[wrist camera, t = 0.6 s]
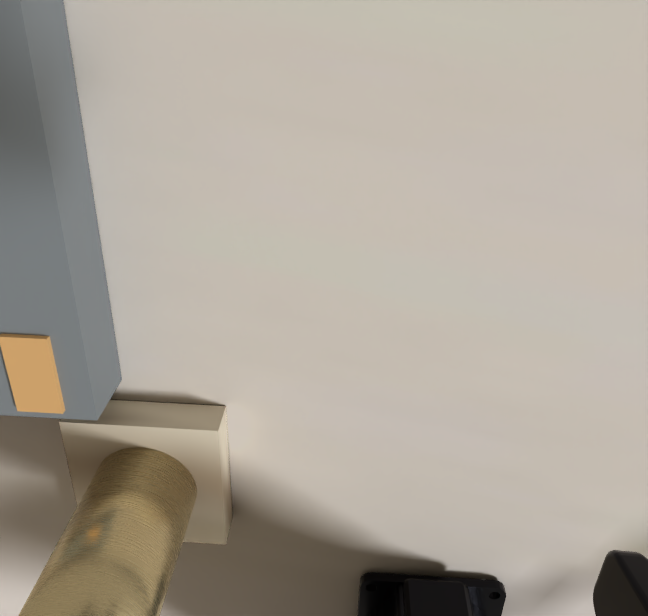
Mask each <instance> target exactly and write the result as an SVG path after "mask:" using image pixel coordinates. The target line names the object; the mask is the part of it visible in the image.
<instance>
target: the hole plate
mask: <svg viewBox="0 0 648 616" xmlns="http://www.w3.org/2000/svg"><path fill="white" fill-rule="evenodd" d="M121 380H122V378H121V371H120V365H119V358H118V352H117V345H116V339H115V332H114V326H113V319H112V313H111V306H110V300H109V294H108V287H107V281H106V274H105V268H104V261H103V255H102V248H101V242H100V235H99V229H98V222H97V216H96V210H95V203H94V197H93V190H92V184H91V177H90V171H89V164H88V158H87V151H86V145H85V139H84V132H83V126H82V119H81V113H80V106H79V100H78V93H77V87H76V80H75V74H74V67H73V61H72V55H71V48H70V42H69V35H68V29H67V22H66V16H65V9H64V3H63V0H0V415H7V416H25V417H43V418H61V419H79V420H98V419H99V417H100V415H101V414H102V412H103V410H104V409H105V407H106V405H107V404H108V402H109V400H110V399H111V397H112V395H113V394H114V392H115V390H116V389H117V387H118V385H119V384H120V382H121Z"/></svg>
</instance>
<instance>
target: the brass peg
mask: <svg viewBox="0 0 648 616" xmlns="http://www.w3.org/2000/svg"><path fill="white" fill-rule="evenodd" d="M196 498H197V486H196V483H195V480H194V478H193V476H192V474H191V473H190V472H189V470H188V469H187V468H186V467H185V466H184V465H183V464H182V463H181V462H180V461H178V460H177V459H175V458H174V457H172V456H170V455H168V454H166V453H164V452H161V451H158V450H155V449H150V448H143V447H132V448H125V449H121V450H118V451H116V452H114V453H112V454H110V455H109V456H107V457H106V458H105V459H104V460H103V461H102V462H101V464H100V465H99V467H98V469H97V471H96V473H95V475H94V477H93V478H92V480H91V482H90V484H89V486H88V488H87V490H86V491H85V493H84V495H83V497H82V499H81V501H80V503H79V504H78V506H77V508H76V510H75V512H74V514H73V516H72V517H71V519H70V521H69V523H68V525H67V527H66V529H65V530H64V532H63V534H62V536H61V538H60V540H59V542H58V543H57V545H56V547H55V549H54V551H53V553H52V555H51V556H50V558H49V560H48V562H47V564H46V566H45V568H44V569H43V571H42V573H41V575H40V577H39V579H38V580H37V582H36V584H35V586H34V588H33V590H32V592H31V593H30V595H29V597H28V599H27V601H26V603H25V605H24V606H23V608H22V610H21V612H20V614H19V616H159V615H160V612H161V609H162V606H163V602H164V599H165V596H166V593H167V590H168V587H169V584H170V580H171V577H172V574H173V571H174V568H175V565H176V561H177V558H178V555H179V552H180V549H181V546H182V543H183V539H184V536H185V533H186V530H187V527H188V524H189V521H190V517H191V514H192V511H193V508H194V505H195V502H196Z"/></svg>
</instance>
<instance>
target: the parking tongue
mask: <svg viewBox="0 0 648 616" xmlns="http://www.w3.org/2000/svg"><path fill="white" fill-rule="evenodd" d="M59 426H60V430H61V435H62V440H63V444H64V449H65V453H66V458H67V462H68V467H69V471H70V476H71V480H72V485H73V489H74V494H75V498H76V503H77V506H78V504H79V503H80V501H81V499H82V497H83V495H84V493H85V491H86V490H87V488H88V486H89V484H90V482H91V480H92V478H93V477H94V475H95V473H96V471H97V469H98V467H99V465H100V464H101V462H102V461H103V460H104V459H105V458H106V457H107V456H109V455H110V454H112V453H114V452H116V451H118V450H121V449H125V448H132V447H143V448H150V449H155V450H158V451H161V452H164V453H166V454H168V455H170V456H172V457H174V458H175V459H177V460H178V461H180V462H181V463H182V464H183V465H184V466H185V467H186V468H187V469H188V470H189V472H190V473H191V474H192V476H193V478H194V480H195V483H196V486H197V498H196V502H195V505H194V508H193V511H192V514H191V517H190V521H189V524H188V527H187V530H186V533H185V536H184V539H183V542H192V543H208V544H224V545H226V543H227V539H228V534H229V530H230V526H231V522H232V518H233V514H232V497H231V481H230V464H229V447H228V431H227V414H226V406H213V405H195V404H177V403H158V402H140V401H122V400H109V402H108V404H107V405H106V407H105V409H104V410H103V412H102V414H101V415H100V417H99V419H98V420H79V419H60V421H59Z"/></svg>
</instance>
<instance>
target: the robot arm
mask: <svg viewBox="0 0 648 616" xmlns="http://www.w3.org/2000/svg"><path fill="white" fill-rule="evenodd" d="M505 598H506V592H505V588H504V585H503V584H502V583H501V582H499V581H495V580H480V579H464V578H448V577H433V576H417V575H401V574H385V573H366V574H364V575H363V576H361V579H360V589H359V601H358V614H357V616H501V614H502V610H503V606H504V602H505ZM593 603H594V609H595V614H596V616H648V559H647V558H646V557H644V556H643V555H642V554H640V553H637V552H630V551H618V550H613V551H610V552H609V553H608V554H607V555H606V557H605V560H604V563H603V565H602V568H601V571H600V574H599V576H598V579H597V582H596V584H595V587H594V592H593Z"/></svg>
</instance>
